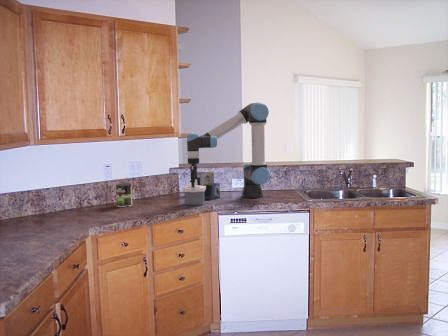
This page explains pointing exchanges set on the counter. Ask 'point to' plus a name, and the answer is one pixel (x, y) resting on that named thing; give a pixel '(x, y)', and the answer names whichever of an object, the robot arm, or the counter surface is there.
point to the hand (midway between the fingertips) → (194, 190)
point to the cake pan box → (205, 177)
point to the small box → (212, 191)
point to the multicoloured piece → (124, 195)
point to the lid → (197, 188)
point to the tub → (194, 198)
